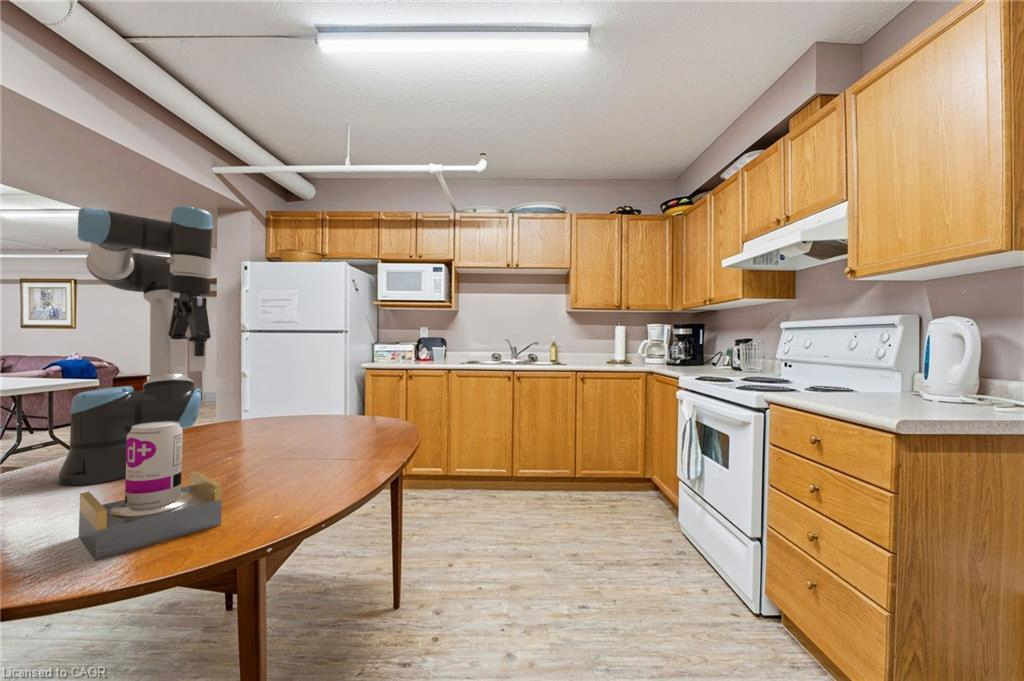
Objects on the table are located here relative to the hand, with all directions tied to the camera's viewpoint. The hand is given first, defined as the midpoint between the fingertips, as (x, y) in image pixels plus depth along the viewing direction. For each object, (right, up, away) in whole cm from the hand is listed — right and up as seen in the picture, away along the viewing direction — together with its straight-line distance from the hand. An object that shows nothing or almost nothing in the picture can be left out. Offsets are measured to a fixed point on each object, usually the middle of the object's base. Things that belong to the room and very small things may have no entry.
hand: (187, 368), depth 95 cm
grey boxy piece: (+5, -30, -15) cm, 34 cm away
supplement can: (+6, -25, -15) cm, 30 cm away
